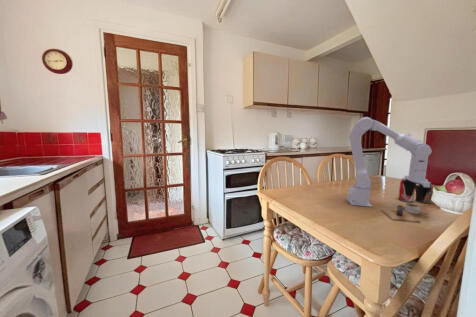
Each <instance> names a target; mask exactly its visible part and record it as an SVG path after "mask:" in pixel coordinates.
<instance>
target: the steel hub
mask: <svg viewBox="0 0 476 317" xmlns="http://www.w3.org/2000/svg"><path fill="white" fill-rule="evenodd" d="M420 210H421V205H419V204H414V203H409V202H406V203H405V206H404V212H407V213H408V214H415V215H416V214H417V215H418V214H420Z"/></svg>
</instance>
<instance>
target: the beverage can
mask: <svg viewBox="0 0 476 317" xmlns="http://www.w3.org/2000/svg"><path fill="white" fill-rule="evenodd" d="M404 178H405V177H403V178H401V179H400V182H399V188H398V189H399V191H398V197H397V198H398V199H399V200H400V201H402V202H405V203H409V202H410V203H411V202H413V201H414V198H415V193H416V191H415V188H414V191H413V195H412V196H407V195H406V192H405V187H404V185H403V183H402V181H405V179H404Z"/></svg>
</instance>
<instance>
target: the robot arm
mask: <svg viewBox="0 0 476 317" xmlns="http://www.w3.org/2000/svg"><path fill="white" fill-rule="evenodd" d="M369 130H370V131H377V132H379V133H381V134H383V135H385V136H387V137H389V138H391V139H393V142H394V145H397V146H399V147H400V148H403V149H404V150H405V151H408V152H409V153H410V154H411V158H410V163H409V171H408V175H404V177H403V178H404V179H405V181H402V183H403V185H404V187H405V192H406V195H407V196H412V195H413V191H414V188H415V201H417V202H418V201H423V200H424V198H425V196H426V194H427V193H428V192H429V191H430V190H431V189H432V188H431V187H430V183H429V182H430V181H429V180H428V179H427V177H426V176H427V168H428V163H429V161H428V159H429V156H430V155H431V154H432V152H433V150H432V148H431V146H430V145H428V143H427V144H426V143H422V141H423V140H421V139H416V138H415V137H412V134H410V133H405V132H404V133H399V132H398V131H396V130H394V129H392V128H391V127H389V126H388V125H385V124H383V123H382V122H381V121H378V120H375V119H372V118H371V117H368V116H364V117H362V118H360V119H358V120H357V121H356V123H354V125H353V127H352V129H351V130H350V133H349V134H348V135H349V136H348V140H349V143H350V148H351V153H352V159H353V164H354V167H355V168H354V170H355V177H354V180H355V183H354V185H353V186H349V187H348V188H347V198H346V201H347V202H348V203H349V204H350V205H351V206H361V207H370V208H372V207H373V205H372V204H371V203H370V198H371V188H372V187H371V185H372V180H371V178H370V176H369V175H368V171H367V168H366V163H365V158H364V153H363V146H362V143H361V137H362V136H363V135H364V134H365V133H366V132H367V131H369ZM427 181H429V182H427Z"/></svg>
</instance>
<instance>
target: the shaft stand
mask: <svg viewBox="0 0 476 317" xmlns="http://www.w3.org/2000/svg"><path fill="white" fill-rule="evenodd" d="M380 211H381V212H382V213H383V214H384V215H385V216H387V217H388V218H389V219H390V220H391V221H397V222H407V223H418V224H421V221H420V220H419V219H417V218H416V217H415V216H413V215H412V214H411V213H409V212H407V211H404V206H403V205H402V204H398V205H397V208H396V210H391V209H390V210H389V209H388V210H387V209H380Z"/></svg>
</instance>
